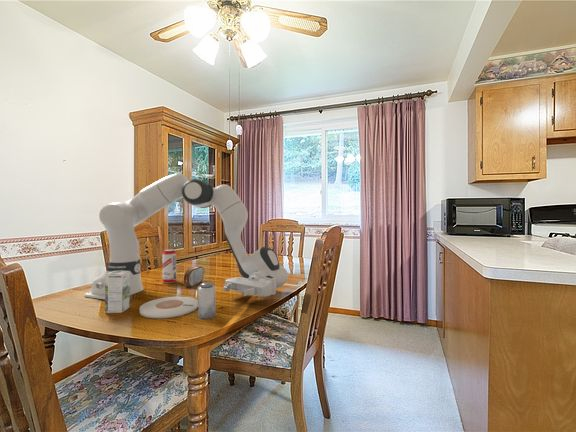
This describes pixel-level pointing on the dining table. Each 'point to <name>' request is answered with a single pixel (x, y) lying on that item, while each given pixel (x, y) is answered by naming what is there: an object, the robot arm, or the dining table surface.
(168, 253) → the beer can
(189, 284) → the tin
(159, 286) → the dining table surface
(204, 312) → the white drink can
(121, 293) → the syrup box
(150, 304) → the disc
